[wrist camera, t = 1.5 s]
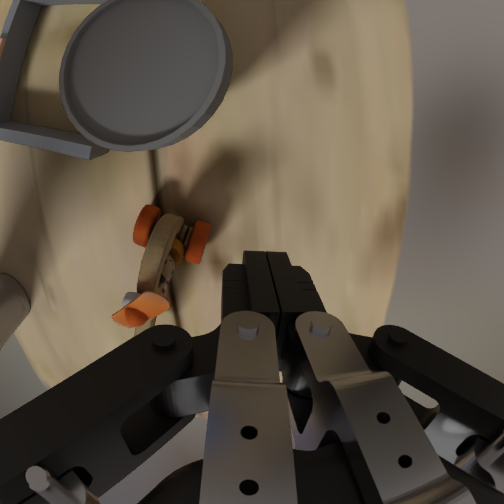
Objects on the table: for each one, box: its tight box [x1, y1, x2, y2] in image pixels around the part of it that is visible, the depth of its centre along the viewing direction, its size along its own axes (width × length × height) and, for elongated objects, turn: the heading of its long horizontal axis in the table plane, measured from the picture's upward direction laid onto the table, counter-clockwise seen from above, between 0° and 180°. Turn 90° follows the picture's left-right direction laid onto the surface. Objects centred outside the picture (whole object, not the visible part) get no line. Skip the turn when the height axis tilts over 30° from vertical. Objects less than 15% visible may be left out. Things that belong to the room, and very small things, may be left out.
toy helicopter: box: [112, 204, 211, 337], centre depth 34 cm, size 8×21×14 cm, turn 160°
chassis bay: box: [0, 0, 109, 160], centre depth 25 cm, size 19×20×6 cm
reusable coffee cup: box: [59, 0, 232, 152], centre depth 23 cm, size 13×13×15 cm
